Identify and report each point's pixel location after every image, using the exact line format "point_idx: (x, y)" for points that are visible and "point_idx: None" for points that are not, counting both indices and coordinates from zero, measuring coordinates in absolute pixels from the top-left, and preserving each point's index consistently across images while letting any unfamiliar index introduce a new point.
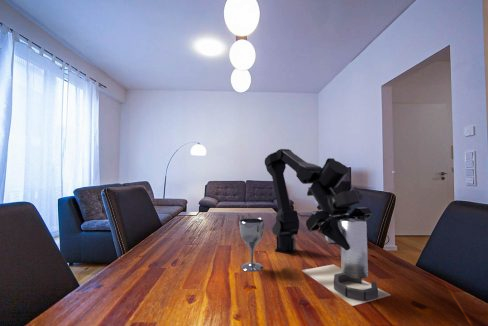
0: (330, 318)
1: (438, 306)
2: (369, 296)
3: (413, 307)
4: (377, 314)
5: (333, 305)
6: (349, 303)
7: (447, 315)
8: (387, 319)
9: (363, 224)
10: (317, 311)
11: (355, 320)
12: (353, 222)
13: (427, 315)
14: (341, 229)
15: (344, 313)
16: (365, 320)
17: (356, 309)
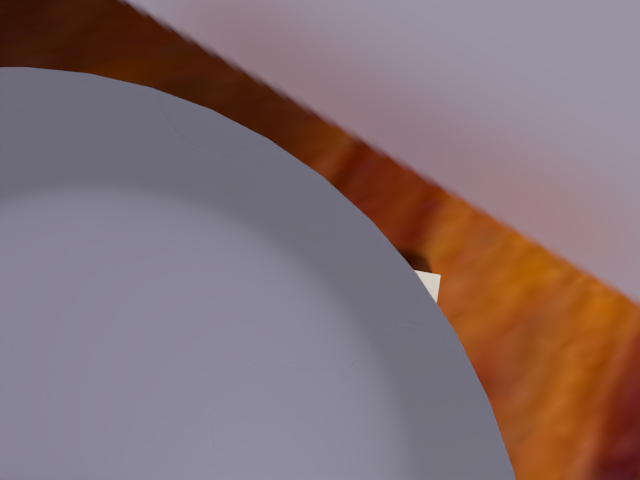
0: (592, 300)
1: (15, 63)
2: None
3: None
4: (353, 193)
5: (487, 366)
6: (436, 297)
7: (74, 17)
8: (350, 148)
9: (96, 96)
10: (610, 377)
11: (493, 224)
12: (308, 352)
13: (153, 64)
14: None
15: (494, 287)
16: (450, 199)
17: None
